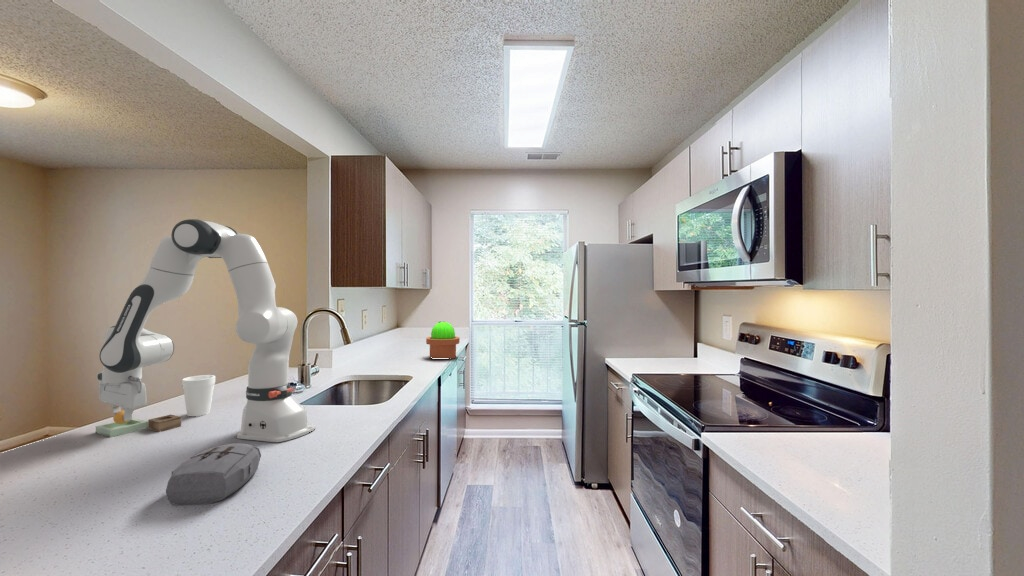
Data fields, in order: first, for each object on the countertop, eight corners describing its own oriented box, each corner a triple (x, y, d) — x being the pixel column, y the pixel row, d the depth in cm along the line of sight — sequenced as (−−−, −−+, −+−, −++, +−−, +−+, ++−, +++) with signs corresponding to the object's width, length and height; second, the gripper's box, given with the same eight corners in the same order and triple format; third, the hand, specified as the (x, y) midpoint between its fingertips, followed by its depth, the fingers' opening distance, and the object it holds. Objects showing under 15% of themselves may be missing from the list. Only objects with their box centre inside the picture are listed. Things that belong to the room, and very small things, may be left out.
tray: (147, 427, 128) (147, 421, 128) (110, 437, 120) (110, 430, 120) (132, 424, 131) (132, 417, 131) (95, 432, 123) (95, 426, 123)
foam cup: (176, 415, 141) (177, 378, 141) (206, 408, 149) (207, 374, 149) (190, 419, 136) (190, 381, 136) (220, 412, 145) (220, 376, 145)
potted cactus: (457, 360, 257) (457, 322, 257) (423, 360, 256) (423, 321, 256) (460, 355, 278) (461, 319, 279) (429, 355, 278) (429, 319, 278)
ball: (133, 422, 127) (133, 409, 127) (117, 426, 123) (117, 413, 123) (126, 420, 128) (127, 408, 128) (110, 424, 124) (110, 411, 124)
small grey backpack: (233, 504, 83) (273, 463, 103) (234, 464, 83) (273, 431, 103) (151, 510, 81) (207, 467, 100) (152, 469, 81) (208, 434, 100)
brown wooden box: (181, 426, 130) (181, 416, 130) (158, 431, 124) (158, 422, 124) (170, 423, 132) (170, 414, 132) (148, 429, 127) (148, 419, 127)
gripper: (153, 376, 124) (152, 420, 124) (119, 370, 133) (118, 412, 132) (127, 380, 119) (126, 426, 118) (93, 374, 127) (92, 417, 127)
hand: (122, 418), depth 126 cm, fingers open, 4 cm apart
